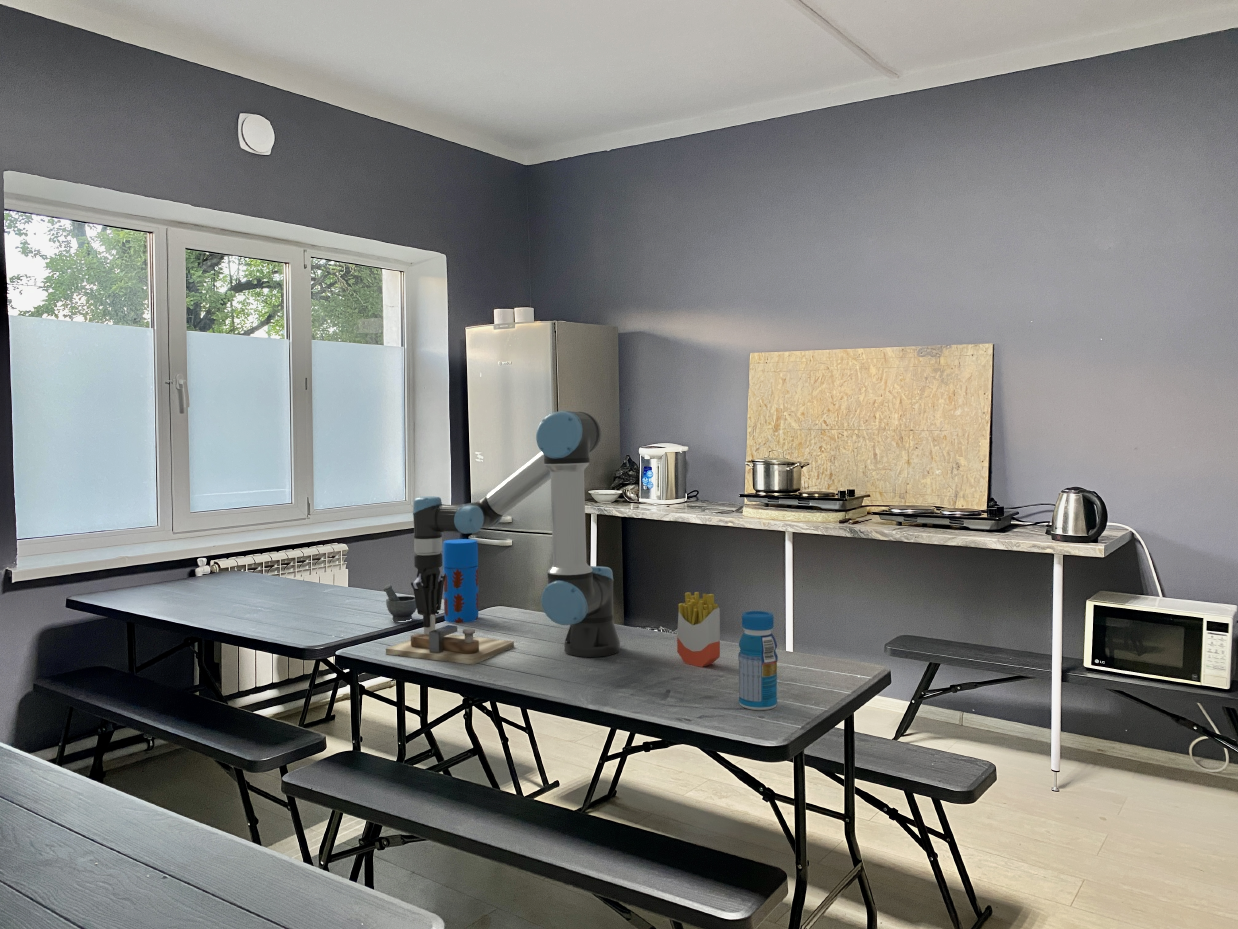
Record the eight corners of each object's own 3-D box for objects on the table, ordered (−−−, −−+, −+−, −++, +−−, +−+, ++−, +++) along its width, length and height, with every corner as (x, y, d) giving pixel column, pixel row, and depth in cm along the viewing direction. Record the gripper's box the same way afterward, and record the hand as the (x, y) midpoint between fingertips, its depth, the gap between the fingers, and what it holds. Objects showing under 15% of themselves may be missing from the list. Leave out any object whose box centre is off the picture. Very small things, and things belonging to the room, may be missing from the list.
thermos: (475, 622, 275) (473, 543, 274) (441, 623, 275) (439, 543, 274) (481, 615, 285) (480, 538, 284) (448, 615, 286) (447, 539, 285)
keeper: (457, 646, 239) (457, 626, 239) (438, 653, 231) (438, 632, 231) (448, 645, 240) (448, 625, 240) (429, 652, 233) (429, 631, 232)
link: (482, 650, 234) (482, 628, 234) (471, 654, 229) (470, 632, 229) (418, 642, 243) (418, 621, 243) (406, 646, 239) (405, 625, 239)
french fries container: (708, 669, 219) (707, 597, 218) (676, 661, 227) (675, 592, 226) (720, 666, 222) (719, 595, 221) (688, 658, 230) (687, 590, 229)
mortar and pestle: (408, 615, 286) (408, 579, 286) (423, 620, 279) (423, 582, 279) (377, 621, 278) (376, 583, 278) (391, 625, 272) (390, 587, 271)
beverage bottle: (737, 710, 187) (737, 617, 186) (738, 698, 195) (738, 609, 195) (778, 712, 186) (778, 618, 185) (777, 700, 194) (777, 610, 193)
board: (513, 646, 244) (513, 641, 244) (473, 664, 226) (473, 658, 226) (430, 637, 255) (430, 632, 255) (385, 654, 237) (385, 648, 237)
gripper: (431, 549, 248) (432, 631, 249) (402, 555, 236) (403, 642, 237) (453, 550, 245) (454, 634, 246) (424, 557, 233) (426, 645, 234)
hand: (429, 638), depth 242 cm, fingers closed
